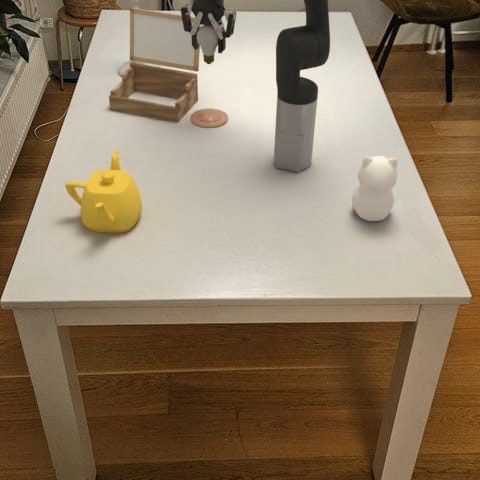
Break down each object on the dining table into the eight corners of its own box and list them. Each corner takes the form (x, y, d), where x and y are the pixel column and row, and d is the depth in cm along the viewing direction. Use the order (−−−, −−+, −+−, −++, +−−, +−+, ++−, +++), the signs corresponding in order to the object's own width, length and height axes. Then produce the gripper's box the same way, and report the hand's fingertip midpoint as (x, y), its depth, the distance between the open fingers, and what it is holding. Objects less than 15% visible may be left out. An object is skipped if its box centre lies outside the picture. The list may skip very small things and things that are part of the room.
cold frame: (177, 122, 186) (176, 94, 181) (110, 109, 191) (107, 82, 186) (197, 100, 197) (197, 73, 192) (133, 89, 202) (131, 62, 197)
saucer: (220, 130, 183) (220, 128, 183) (184, 124, 186) (184, 121, 185) (233, 114, 191) (233, 111, 190) (199, 108, 193) (199, 105, 193)
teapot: (80, 188, 160) (74, 146, 154) (148, 190, 160) (145, 148, 154) (58, 247, 143) (50, 202, 136) (134, 249, 143) (130, 205, 136)
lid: (200, 18, 184) (201, 18, 185) (130, 8, 190) (131, 7, 190) (197, 71, 191) (198, 70, 192) (129, 60, 196) (131, 59, 197)
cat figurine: (351, 226, 150) (360, 166, 141) (348, 193, 160) (356, 135, 151) (393, 228, 150) (405, 169, 141) (388, 195, 160) (398, 137, 151)
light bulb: (210, 70, 175) (210, 31, 169) (192, 64, 178) (191, 25, 172) (225, 63, 179) (225, 24, 173) (207, 57, 182) (206, 19, 176)
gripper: (173, -17, 165) (176, 51, 175) (231, -10, 162) (230, 60, 172) (186, -26, 171) (188, 41, 181) (241, -19, 167) (240, 49, 177)
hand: (208, 50), depth 176 cm, fingers closed on light bulb, 6 cm apart
